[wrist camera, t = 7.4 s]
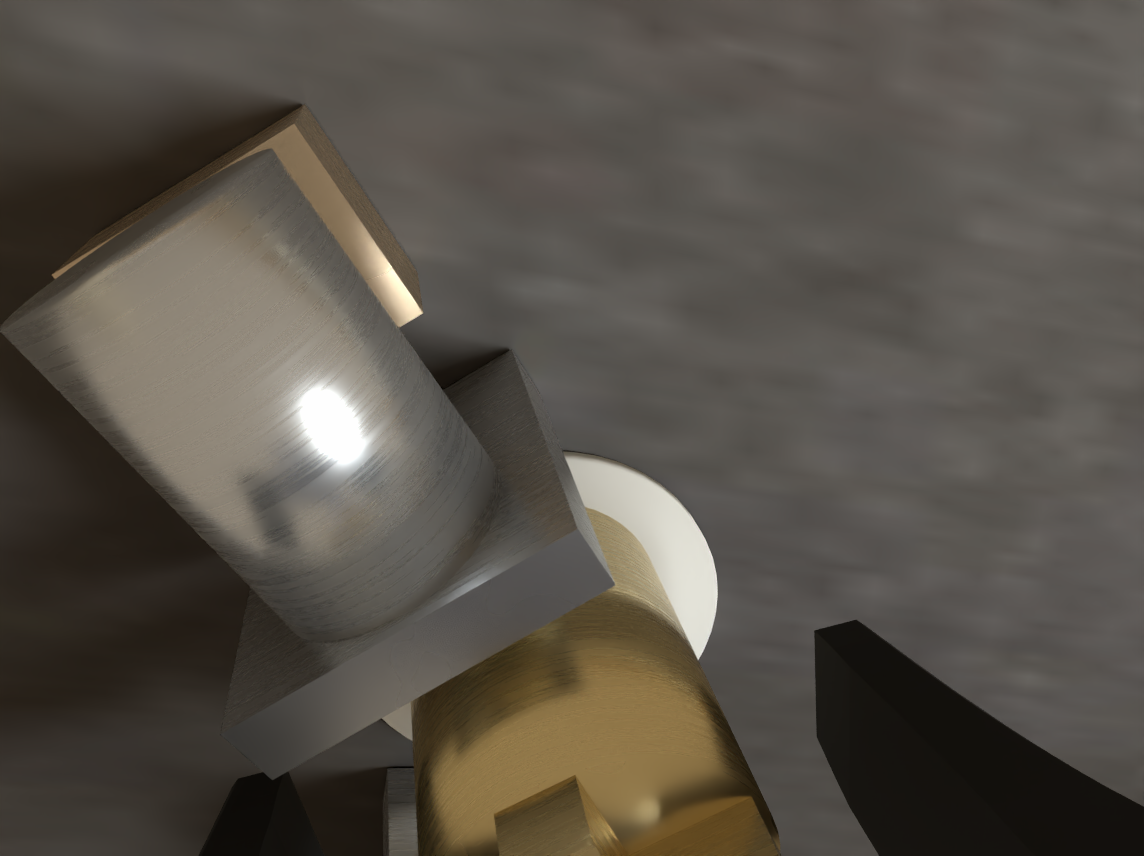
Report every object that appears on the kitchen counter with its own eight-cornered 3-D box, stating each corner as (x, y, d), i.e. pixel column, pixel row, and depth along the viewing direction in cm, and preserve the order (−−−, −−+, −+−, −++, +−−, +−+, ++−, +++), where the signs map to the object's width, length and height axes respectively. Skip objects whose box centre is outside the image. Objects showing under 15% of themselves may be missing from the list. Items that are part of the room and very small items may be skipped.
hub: (690, 639, 15) (852, 977, 10) (478, 742, 15) (531, 1129, 10) (599, 458, 13) (743, 764, 8) (357, 577, 13) (346, 953, 8)
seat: (664, 750, 16) (668, 762, 16) (329, 751, 15) (329, 765, 15) (753, 467, 14) (761, 477, 14) (366, 433, 12) (365, 443, 12)
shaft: (539, 393, 13) (615, 585, 9) (304, 531, 13) (272, 780, 9) (340, 81, 10) (319, 147, 6) (59, 257, 11) (-132, 426, 7)
